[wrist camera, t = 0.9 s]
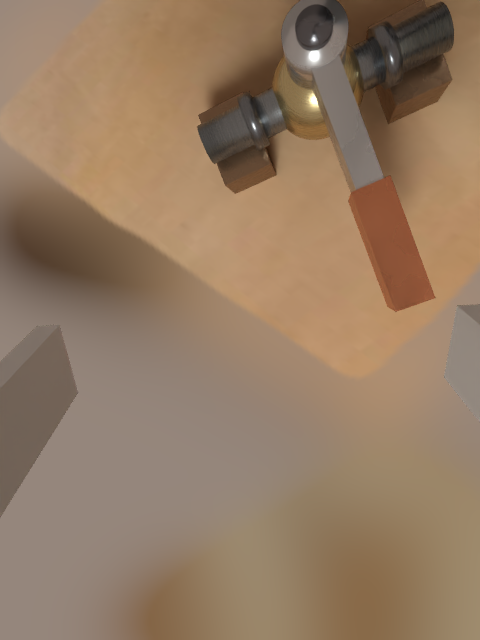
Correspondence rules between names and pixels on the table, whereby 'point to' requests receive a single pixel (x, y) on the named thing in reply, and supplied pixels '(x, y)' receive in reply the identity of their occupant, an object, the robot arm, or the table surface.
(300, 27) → the valve lever
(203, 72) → the table surface
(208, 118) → the valve stand
